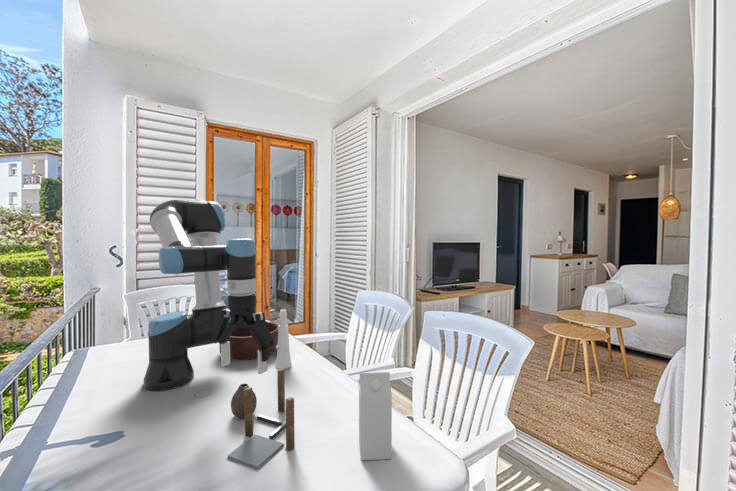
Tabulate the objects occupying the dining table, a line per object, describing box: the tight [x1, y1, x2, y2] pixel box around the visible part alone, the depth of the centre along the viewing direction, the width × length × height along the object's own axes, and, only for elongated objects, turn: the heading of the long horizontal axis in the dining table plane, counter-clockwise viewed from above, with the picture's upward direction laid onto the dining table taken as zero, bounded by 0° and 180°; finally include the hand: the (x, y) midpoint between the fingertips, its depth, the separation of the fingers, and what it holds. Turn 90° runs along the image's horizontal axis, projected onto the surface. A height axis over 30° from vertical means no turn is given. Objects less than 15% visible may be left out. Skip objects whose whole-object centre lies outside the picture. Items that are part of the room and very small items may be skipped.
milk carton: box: [358, 371, 393, 461], centre depth 81 cm, size 7×7×19 cm
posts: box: [244, 368, 296, 452], centre depth 91 cm, size 15×15×12 cm
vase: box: [230, 383, 258, 420], centre depth 97 cm, size 7×7×9 cm
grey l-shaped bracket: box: [256, 414, 286, 440], centre depth 90 cm, size 10×6×1 cm, turn 66°
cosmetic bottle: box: [275, 308, 293, 370], centre depth 132 cm, size 6×6×22 cm
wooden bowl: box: [226, 320, 279, 361], centre depth 148 cm, size 25×25×10 cm
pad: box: [226, 434, 284, 470], centre depth 81 cm, size 9×9×1 cm
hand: (243, 368), depth 96 cm, fingers open, 13 cm apart
